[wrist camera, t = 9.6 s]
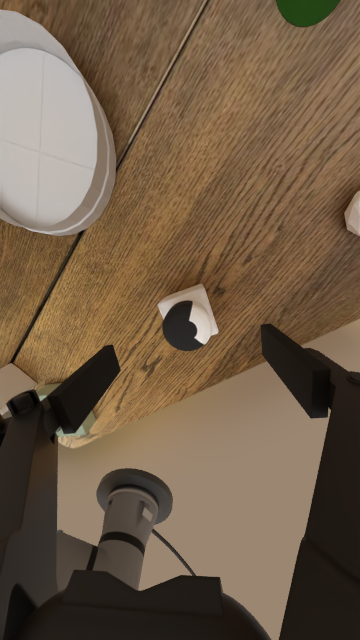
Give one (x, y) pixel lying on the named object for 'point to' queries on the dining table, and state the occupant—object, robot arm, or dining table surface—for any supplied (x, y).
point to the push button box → (81, 431)
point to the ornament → (353, 215)
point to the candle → (306, 10)
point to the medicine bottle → (187, 318)
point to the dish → (49, 135)
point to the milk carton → (12, 384)
